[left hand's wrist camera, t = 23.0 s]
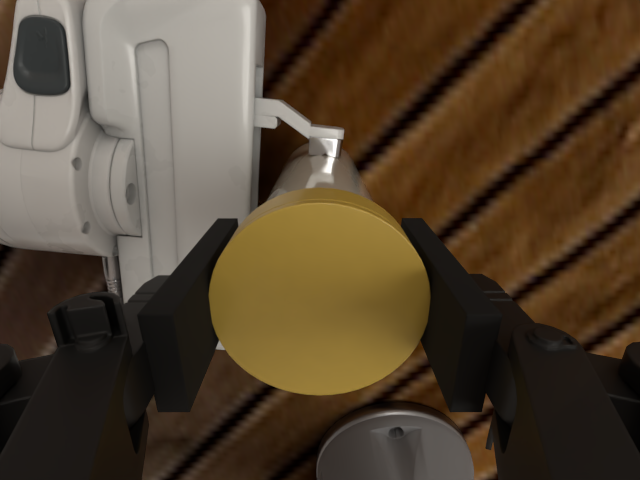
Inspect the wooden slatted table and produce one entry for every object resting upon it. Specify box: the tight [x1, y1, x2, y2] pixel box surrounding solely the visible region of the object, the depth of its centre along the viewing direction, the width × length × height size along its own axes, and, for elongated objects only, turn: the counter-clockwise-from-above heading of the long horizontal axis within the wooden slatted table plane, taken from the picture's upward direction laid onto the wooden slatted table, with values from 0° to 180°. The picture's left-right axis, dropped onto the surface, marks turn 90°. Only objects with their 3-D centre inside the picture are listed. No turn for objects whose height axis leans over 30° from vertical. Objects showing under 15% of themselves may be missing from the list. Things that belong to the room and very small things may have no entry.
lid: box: [209, 187, 431, 395], centre depth 11 cm, size 6×6×2 cm
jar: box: [266, 143, 374, 202], centre depth 19 cm, size 5×5×17 cm
